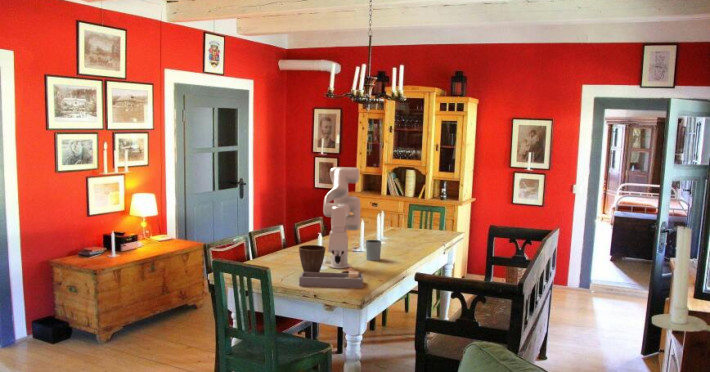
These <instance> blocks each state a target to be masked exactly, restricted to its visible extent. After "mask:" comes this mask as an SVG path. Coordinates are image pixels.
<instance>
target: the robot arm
mask: <svg viewBox="0 0 710 372" xmlns="http://www.w3.org/2000/svg"><path fill="white" fill-rule="evenodd" d="M360 174H361V173H360V170H359V168H358V167H351V166H348V167H347V166H346V167H344V166H334V167H332V168H330V170H329V175H330V176H329V177H330V180H331V183H332V189H331V190H329V191H328V192H327V193H326V195H325V196H324V199H323V207H322V209H323V210H322V212H323V215H324V216H325V217H327V218H330V225H331V227H330V228H331V230H330V231H329V236H328V249H327V252H328V253H330V254H331V263H329V264H328V267H330V268H332V269H348V268H350V267H351V264H350V263H348V262H349V261H348V258H349V257H348V253H349V237H348V231H359V230H360V228H361V210H362V209H361V207H362V205H361V200H360V197H358V196H355V195H354V196H351V195H350V196H349V184H358V183H359V180H360ZM332 201H333V202H332ZM350 213H352V214H350Z"/></svg>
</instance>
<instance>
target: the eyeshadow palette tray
mask: <svg viewBox="0 0 710 372" xmlns="http://www.w3.org/2000/svg"><path fill="white" fill-rule="evenodd" d="M348 274H349V273H342V272H327V271H326V272H325V271H324V272H323V271H320V272H304V271H302V272H301V273H300V276H299V279H298V281H299V282H298V286H300V287H322V288H323V287H326V288H331V287H332V288H351V289H352V288H355V289H360V288H361V289H362V288H363V285H364V273H362V274H358V279H351V278H348Z"/></svg>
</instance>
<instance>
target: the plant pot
mask: <svg viewBox="0 0 710 372" xmlns="http://www.w3.org/2000/svg"><path fill="white" fill-rule="evenodd" d="M298 251H299V252H298V253H299V259H300V263H301V267H302V270H303V271H302V272H321V269H322V266H323V263H324V258H325V255H326V254H325V253H326V247H325V246H323V245H319V244H318V245H316V244H307V245H305V244H304V245H300V246H298Z"/></svg>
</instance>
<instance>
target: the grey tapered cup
mask: <svg viewBox="0 0 710 372" xmlns="http://www.w3.org/2000/svg"><path fill="white" fill-rule="evenodd" d="M381 249H382V240H380V239H367V240H365V250H366V251H365V252H366V253H365V254H366V260H367V261H369V262H378V261H380V260H381V251H382V250H381Z"/></svg>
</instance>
